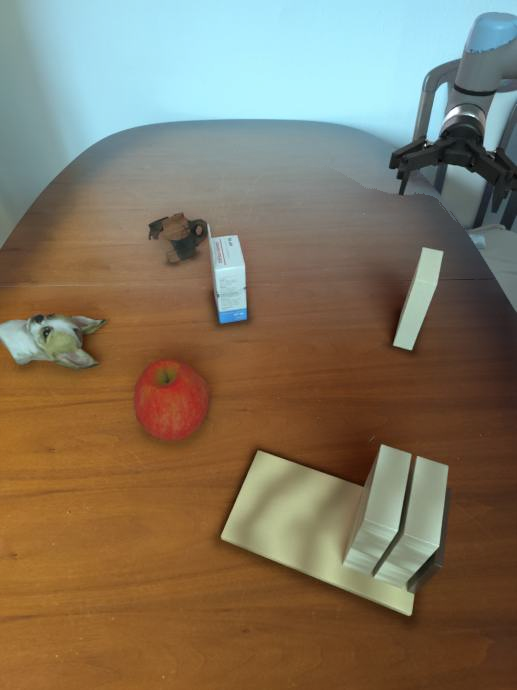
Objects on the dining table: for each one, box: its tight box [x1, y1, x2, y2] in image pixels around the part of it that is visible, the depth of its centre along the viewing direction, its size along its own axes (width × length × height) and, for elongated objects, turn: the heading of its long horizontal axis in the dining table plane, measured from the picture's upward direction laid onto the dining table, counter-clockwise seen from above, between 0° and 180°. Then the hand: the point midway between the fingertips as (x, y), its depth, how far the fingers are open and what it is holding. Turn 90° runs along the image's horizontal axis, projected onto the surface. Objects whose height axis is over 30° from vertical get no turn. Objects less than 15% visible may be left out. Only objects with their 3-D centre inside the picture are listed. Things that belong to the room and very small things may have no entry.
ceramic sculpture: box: [0, 313, 108, 371], centre depth 69 cm, size 11×9×15 cm
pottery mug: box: [147, 212, 208, 264], centre depth 89 cm, size 12×10×8 cm
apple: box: [133, 358, 211, 442], centre depth 61 cm, size 10×10×10 cm
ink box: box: [207, 223, 248, 324], centre depth 74 cm, size 9×5×15 cm, turn 10°
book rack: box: [220, 443, 452, 617], centre depth 49 cm, size 22×12×15 cm, turn 69°
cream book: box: [392, 246, 444, 351], centre depth 70 cm, size 3×8×14 cm, turn 159°
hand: (448, 195), depth 67 cm, fingers open, 13 cm apart
